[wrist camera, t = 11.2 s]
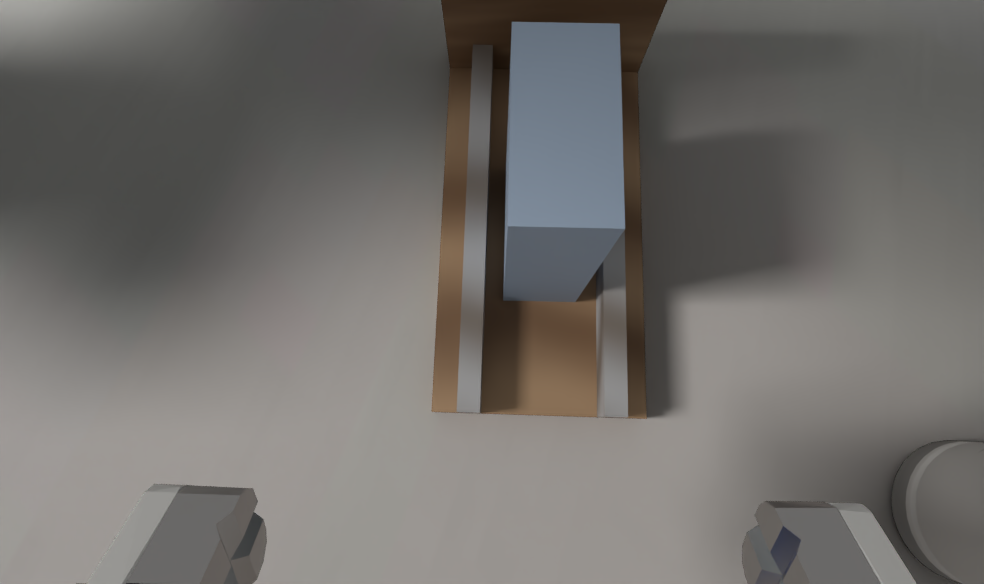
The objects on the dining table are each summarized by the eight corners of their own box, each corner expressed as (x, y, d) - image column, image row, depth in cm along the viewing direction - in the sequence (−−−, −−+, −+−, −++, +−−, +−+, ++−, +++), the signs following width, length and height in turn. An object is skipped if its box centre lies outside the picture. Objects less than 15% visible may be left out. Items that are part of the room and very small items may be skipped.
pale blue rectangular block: (575, 302, 28) (625, 228, 17) (503, 300, 28) (508, 226, 17) (574, 168, 29) (619, 23, 19) (506, 166, 29) (511, 21, 19)
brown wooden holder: (640, 418, 28) (765, 417, 15) (434, 411, 28) (381, 405, 15) (631, 53, 32) (722, -192, 19) (453, 48, 32) (425, -198, 19)
